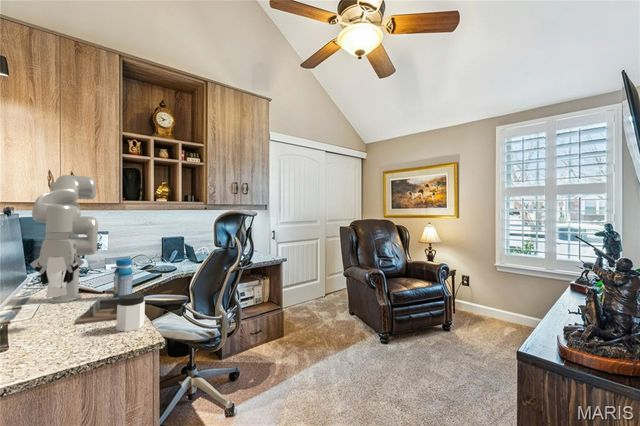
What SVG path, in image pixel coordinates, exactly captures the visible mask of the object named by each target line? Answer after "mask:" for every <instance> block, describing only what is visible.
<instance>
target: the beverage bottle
mask: <svg viewBox="0 0 640 426" xmlns="http://www.w3.org/2000/svg"><path fill="white" fill-rule="evenodd" d="M115 261H116V262H115V265H116V268H115V269H114V272H113V274H114V276H113V295H112V297H113V298H112V299H119V297H120V296H123V295H127V294H133V279H134V275H133V273H134V270H133V267H132V264H133V263H132V262H133V260H132V258H119V259H116V260H115Z"/></svg>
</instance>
